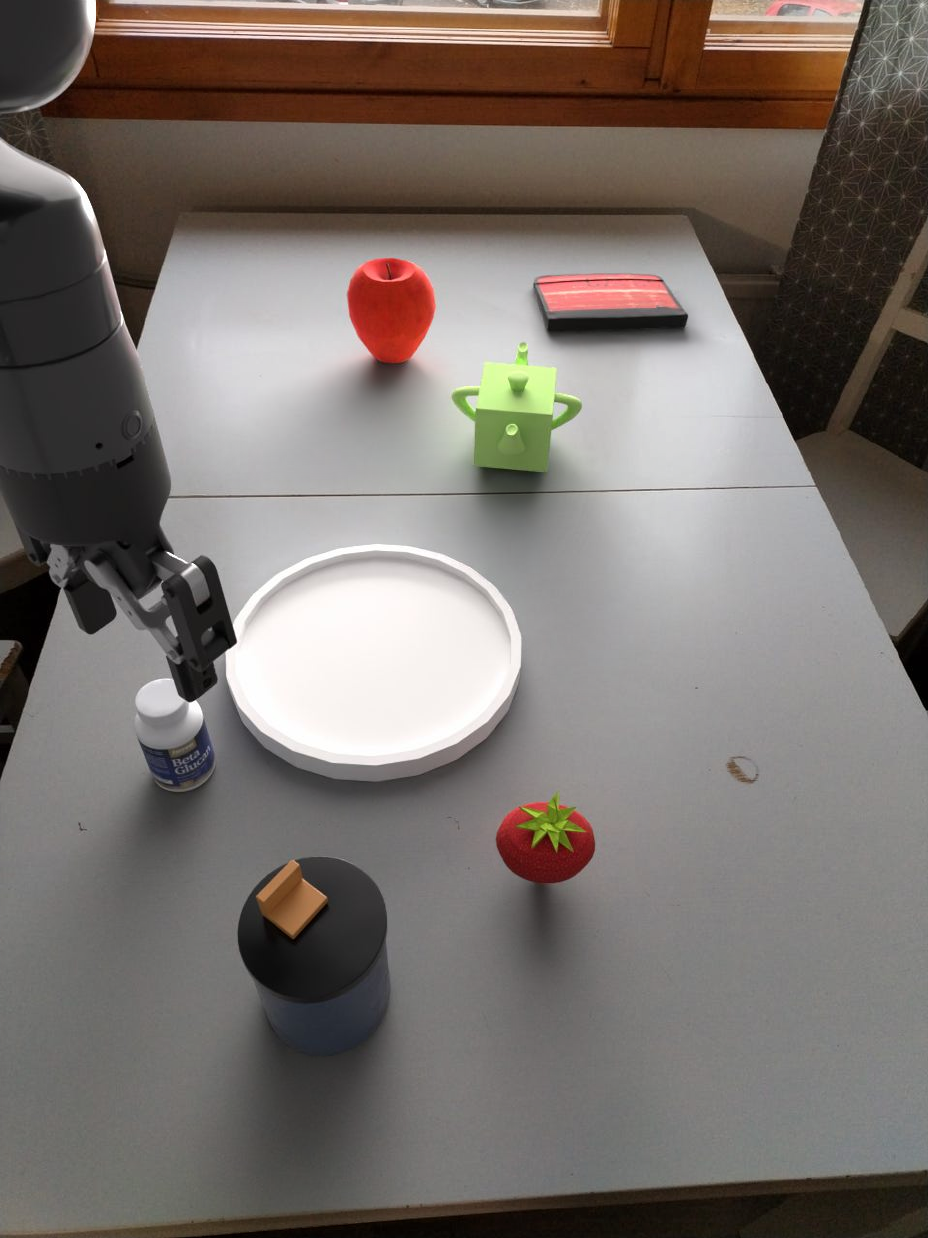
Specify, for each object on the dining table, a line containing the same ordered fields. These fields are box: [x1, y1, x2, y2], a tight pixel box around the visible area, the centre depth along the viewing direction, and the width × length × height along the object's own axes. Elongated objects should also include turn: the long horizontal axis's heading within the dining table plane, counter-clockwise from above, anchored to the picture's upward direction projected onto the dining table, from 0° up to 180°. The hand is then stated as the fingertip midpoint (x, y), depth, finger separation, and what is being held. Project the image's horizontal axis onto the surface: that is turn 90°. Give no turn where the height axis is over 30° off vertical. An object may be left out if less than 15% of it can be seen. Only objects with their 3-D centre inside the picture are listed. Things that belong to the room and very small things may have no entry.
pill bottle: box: [133, 678, 217, 793], centre depth 74 cm, size 5×5×10 cm
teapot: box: [451, 341, 583, 473], centre depth 107 cm, size 15×13×11 cm
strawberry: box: [495, 789, 596, 885], centre depth 67 cm, size 6×8×10 cm
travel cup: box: [236, 855, 391, 1057], centre depth 60 cm, size 9×9×11 cm
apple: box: [346, 257, 437, 364], centre depth 121 cm, size 12×12×13 cm
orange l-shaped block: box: [256, 859, 328, 939], centre depth 56 cm, size 3×3×2 cm
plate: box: [225, 543, 522, 783], centre depth 85 cm, size 28×28×2 cm
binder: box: [532, 272, 689, 333], centre depth 136 cm, size 16×2×21 cm
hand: (148, 656), depth 52 cm, fingers open, 8 cm apart
